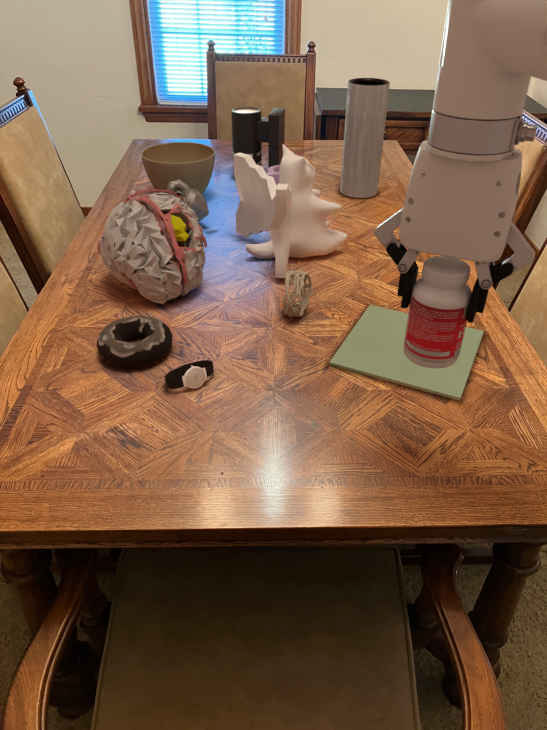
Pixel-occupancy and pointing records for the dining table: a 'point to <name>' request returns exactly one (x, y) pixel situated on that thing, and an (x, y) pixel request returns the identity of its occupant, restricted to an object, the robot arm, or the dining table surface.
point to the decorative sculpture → (154, 245)
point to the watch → (189, 375)
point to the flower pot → (179, 164)
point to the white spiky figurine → (284, 210)
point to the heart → (190, 198)
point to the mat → (402, 355)
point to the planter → (363, 136)
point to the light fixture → (258, 133)
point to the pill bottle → (438, 313)
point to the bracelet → (302, 304)
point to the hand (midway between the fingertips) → (438, 308)
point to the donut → (136, 353)
